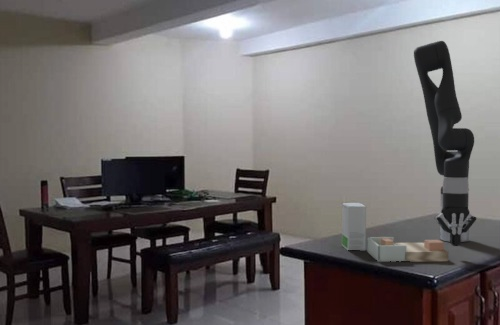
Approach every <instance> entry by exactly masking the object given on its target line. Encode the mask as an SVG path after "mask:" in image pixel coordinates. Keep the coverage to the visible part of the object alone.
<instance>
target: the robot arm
mask: <svg viewBox="0 0 500 325" xmlns="http://www.w3.org/2000/svg"><path fill="white" fill-rule="evenodd" d="M413 58H414V64H415V68H416V71H417V76H418V77H419V78H418V79H419V81H420V86H421V89H422V94H423V99H424V100H423V101H424V105H425V106H424V107H425V110H426V115H427V120H428V124H429V128H430V133H431V138H432V142H433V143H432V144H433V150H434V151H433V152H434V160H435V166H436V170H437V172H438V174H439V175H440V176H442V177H443V180H442V186H440V187H441V188H440V213H439V214H438V215H435V216H434V220H435V221H436V222H437V224H438V225H439V226H440V228H439V230H440V232H439V235H440V238H439V240H440V241H442V242H444V241H445V242H449V244H451V246H453V247H459V246H460V245H461V243H465V242H470V228H471V227H472V226H473V224H474V223H475V222H476V221H477V217H476V216H474V215H473V214H471V213H470V210H469V191H470V188H469V170H470V159H471V155H472V153H473V152H472V151H473V150H474V145H475V136H474V133H473V131H472V130H471V129H470V128H465V127H464V128H463V127H462V128H461V127H459V128H458V127H457V128H455V127H454V126H455V125H456V124H458V123H459V122H461V120H462V116H463V115H462V112H461V111H462V110H461V107H460V104H459V101H458V97H457V93H456V85H455V77H454V72H453V70H454V69H453V64H452V60H451V55H450V49H449V47H448V45H447V43H446V42H445V41H444V40H437V41H435V42H430V43H427V44H424V45H420V46H417V47H415V48H414V50H413ZM441 69H442V77H441V80H440V83H439V86H437V85H436V84H435V83H434V81H433V80H432V79H431V78H430V76H429V72H434V71H437V70H441Z"/></svg>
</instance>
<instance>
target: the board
mask: <svg viewBox="0 0 500 325" xmlns="http://www.w3.org/2000/svg"><path fill="white" fill-rule="evenodd" d="M394 244H396V245H406V246H407V261H410V263H412V262H415V263H417V262H419V263H420V262H421V263H423V262H427V263H428V262H449V250H446V249H444V250H441V251H429V250H428V249H426V248H424V242H394Z"/></svg>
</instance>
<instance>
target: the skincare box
mask: <svg viewBox="0 0 500 325" xmlns="http://www.w3.org/2000/svg"><path fill="white" fill-rule="evenodd" d="M341 211H342V214H341V215H342V218H341V220H342V222H341V246H342V247H343V248H344V249H345V250H347V251H348V250H360V251H366V238H367V237H366V234H367V230H366V229H367V206H366V205H364V204H362V203H361V202H343V203H342V210H341Z"/></svg>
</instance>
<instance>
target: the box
mask: <svg viewBox="0 0 500 325" xmlns="http://www.w3.org/2000/svg"><path fill="white" fill-rule="evenodd" d="M366 239H367V240H366V241H367V242H366V243H367V244H366V245H367V246H366V252H367V253H368V255H370V256H371V257H372V258H373V259H374V260H377V261H376V262H377V263H397V262H396V261H399V262H398V263H401V261H407V246H406V245H396V244H394V243H395V242H394V240H395V238H394V236H370V237H369V236H367V237H366ZM381 239H390V240H392V241H393V245H389V246H381ZM390 261H391V262H390Z"/></svg>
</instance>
